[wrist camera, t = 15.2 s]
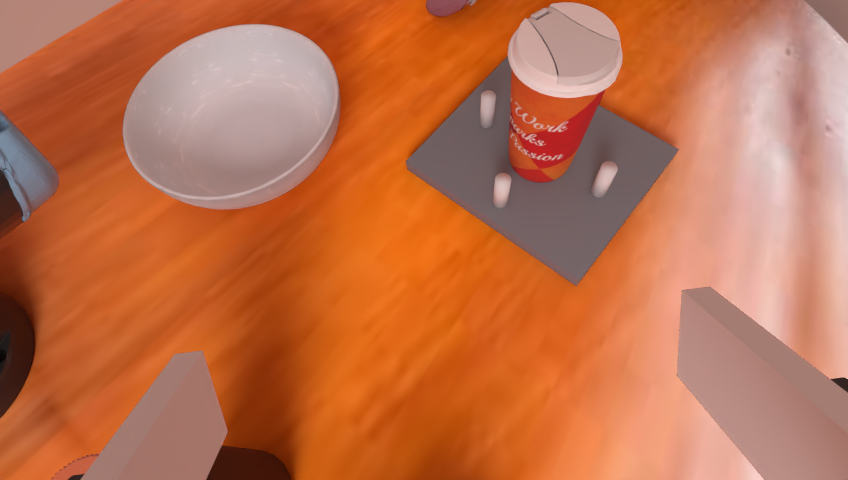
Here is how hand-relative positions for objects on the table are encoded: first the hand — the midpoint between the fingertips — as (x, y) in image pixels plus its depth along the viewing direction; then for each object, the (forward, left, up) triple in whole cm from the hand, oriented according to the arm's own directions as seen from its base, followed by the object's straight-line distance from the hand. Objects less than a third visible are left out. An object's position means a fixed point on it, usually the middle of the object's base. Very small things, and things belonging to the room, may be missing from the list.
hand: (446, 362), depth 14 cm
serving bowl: (-35, +9, -30) cm, 47 cm away
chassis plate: (-10, +25, -30) cm, 40 cm away
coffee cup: (-10, +25, -29) cm, 39 cm away
